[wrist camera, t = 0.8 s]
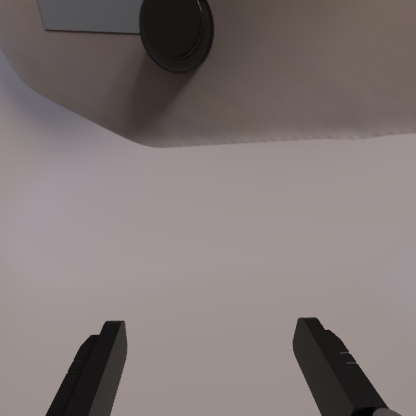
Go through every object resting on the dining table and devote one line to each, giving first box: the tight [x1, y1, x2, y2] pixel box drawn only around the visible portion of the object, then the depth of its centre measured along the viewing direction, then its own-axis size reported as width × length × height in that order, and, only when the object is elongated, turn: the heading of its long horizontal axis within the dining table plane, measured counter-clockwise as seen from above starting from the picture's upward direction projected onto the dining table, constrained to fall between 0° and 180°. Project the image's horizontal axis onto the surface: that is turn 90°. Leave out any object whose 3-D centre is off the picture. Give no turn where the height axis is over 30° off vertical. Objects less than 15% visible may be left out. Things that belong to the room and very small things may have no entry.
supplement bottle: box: [139, 0, 214, 73], centre depth 22 cm, size 7×7×12 cm
